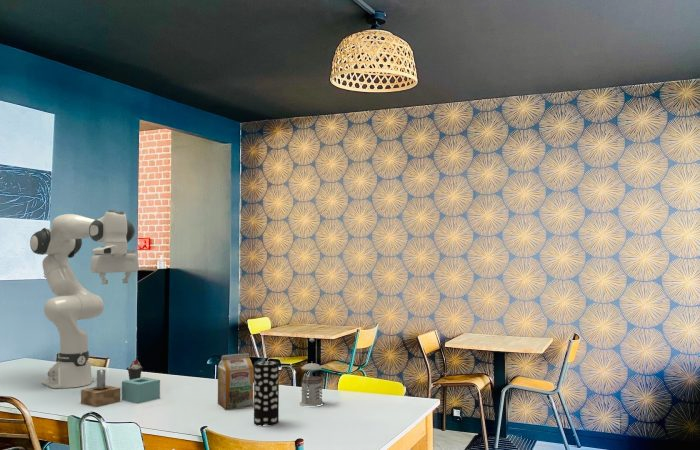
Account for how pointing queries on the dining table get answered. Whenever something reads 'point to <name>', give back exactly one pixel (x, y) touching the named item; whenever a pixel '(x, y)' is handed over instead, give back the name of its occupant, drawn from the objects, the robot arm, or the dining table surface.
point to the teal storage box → (140, 390)
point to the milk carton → (235, 381)
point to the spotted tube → (266, 393)
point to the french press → (311, 386)
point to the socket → (100, 396)
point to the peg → (100, 380)
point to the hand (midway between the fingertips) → (115, 283)
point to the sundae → (134, 370)
